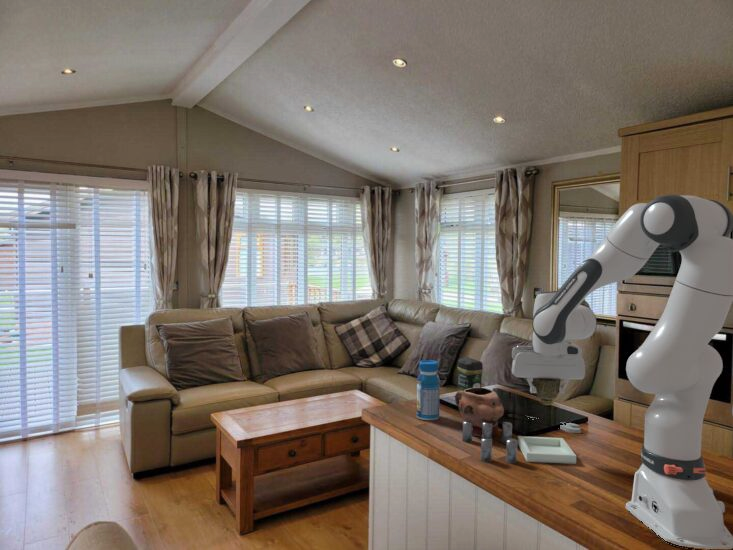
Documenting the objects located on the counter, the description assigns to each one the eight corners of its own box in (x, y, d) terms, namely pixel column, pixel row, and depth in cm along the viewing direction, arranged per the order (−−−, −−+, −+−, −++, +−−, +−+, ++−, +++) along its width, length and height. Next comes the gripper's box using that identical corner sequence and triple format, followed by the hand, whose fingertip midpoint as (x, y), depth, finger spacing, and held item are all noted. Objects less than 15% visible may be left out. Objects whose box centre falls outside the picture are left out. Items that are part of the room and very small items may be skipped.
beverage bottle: (429, 422, 173) (430, 365, 172) (411, 416, 179) (411, 361, 178) (444, 417, 179) (445, 362, 178) (426, 411, 185) (427, 358, 184)
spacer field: (521, 463, 140) (522, 442, 140) (467, 460, 142) (467, 440, 141) (510, 441, 157) (511, 422, 157) (462, 438, 159) (462, 420, 158)
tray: (576, 464, 140) (576, 455, 140) (526, 461, 142) (527, 453, 142) (562, 445, 154) (562, 438, 153) (517, 443, 155) (517, 435, 155)
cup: (562, 408, 143) (562, 380, 142) (534, 406, 144) (535, 379, 144) (557, 401, 150) (558, 374, 150) (531, 399, 151) (532, 373, 151)
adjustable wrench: (505, 418, 180) (506, 413, 180) (513, 414, 185) (513, 409, 185) (577, 435, 164) (577, 429, 164) (584, 430, 168) (584, 425, 168)
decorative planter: (441, 427, 169) (442, 386, 168) (464, 419, 177) (465, 380, 176) (491, 444, 154) (492, 400, 153) (514, 435, 162) (515, 393, 161)
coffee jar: (453, 404, 195) (454, 356, 194) (469, 401, 198) (470, 355, 197) (468, 411, 186) (469, 361, 185) (485, 408, 190) (486, 360, 189)
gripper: (513, 347, 144) (512, 394, 145) (587, 349, 142) (586, 397, 143) (509, 343, 150) (508, 388, 151) (580, 345, 148) (579, 391, 149)
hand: (547, 393), depth 147 cm, fingers closed on cup, 6 cm apart
